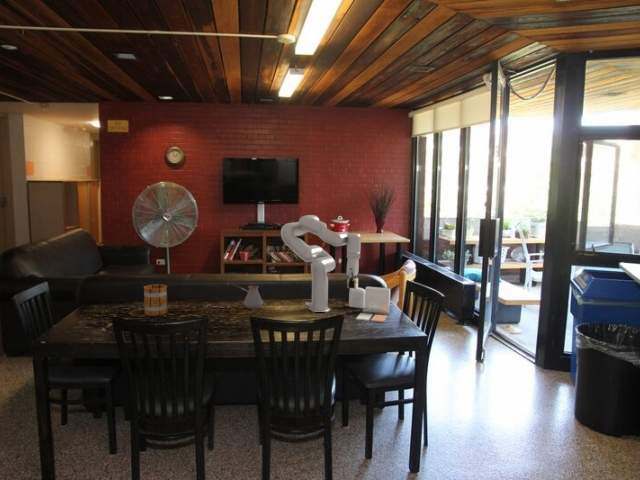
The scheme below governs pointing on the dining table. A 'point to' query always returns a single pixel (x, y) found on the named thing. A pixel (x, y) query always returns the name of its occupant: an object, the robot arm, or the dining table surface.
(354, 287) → the birch block
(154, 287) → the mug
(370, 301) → the wall unit
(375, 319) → the terracotta pad
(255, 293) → the coffee pot
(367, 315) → the sage pad
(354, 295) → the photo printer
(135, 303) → the dining table surface
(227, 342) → the dining table surface
